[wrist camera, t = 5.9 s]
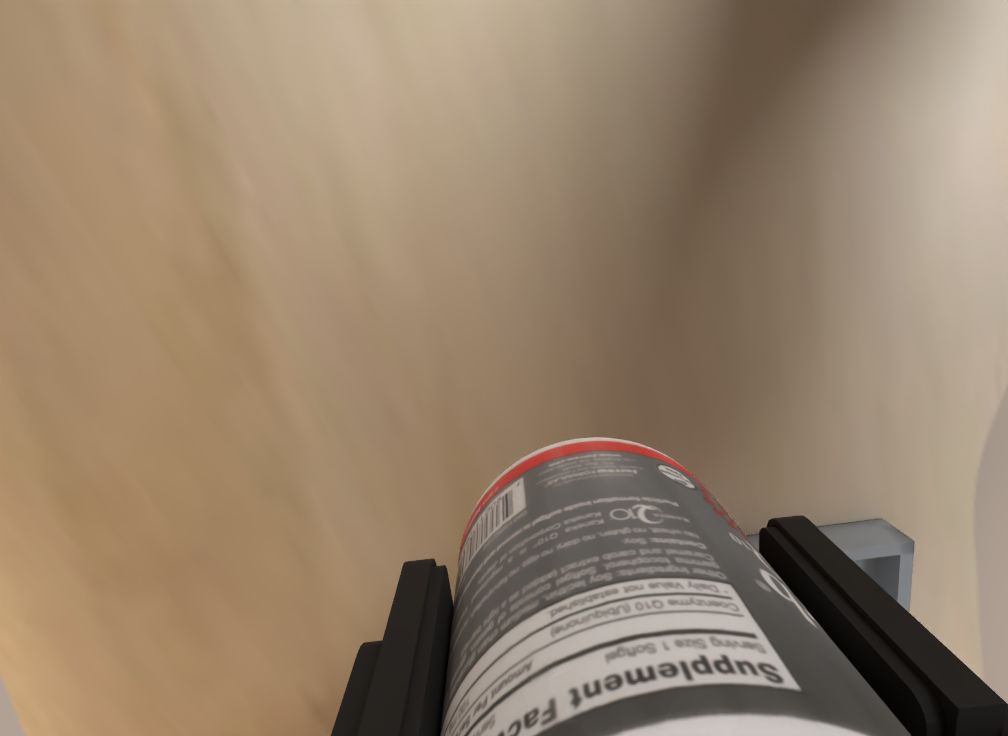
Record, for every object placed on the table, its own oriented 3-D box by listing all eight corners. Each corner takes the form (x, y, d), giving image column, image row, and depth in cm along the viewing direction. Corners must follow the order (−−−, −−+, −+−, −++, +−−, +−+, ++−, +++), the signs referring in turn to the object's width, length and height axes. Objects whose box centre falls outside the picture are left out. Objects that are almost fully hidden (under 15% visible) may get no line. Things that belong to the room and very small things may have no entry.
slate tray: (578, 556, 25) (585, 582, 23) (881, 518, 25) (914, 541, 23) (603, 806, 29) (611, 846, 27) (867, 772, 29) (894, 810, 27)
